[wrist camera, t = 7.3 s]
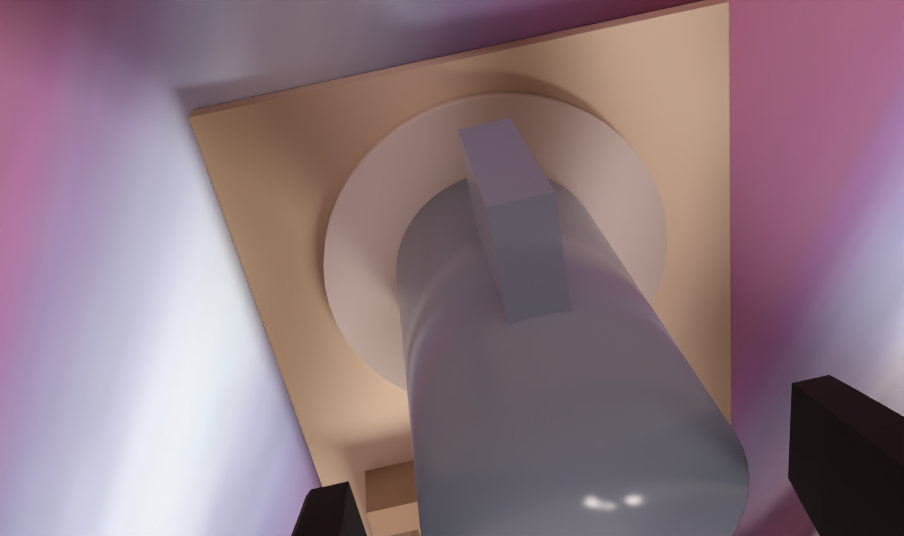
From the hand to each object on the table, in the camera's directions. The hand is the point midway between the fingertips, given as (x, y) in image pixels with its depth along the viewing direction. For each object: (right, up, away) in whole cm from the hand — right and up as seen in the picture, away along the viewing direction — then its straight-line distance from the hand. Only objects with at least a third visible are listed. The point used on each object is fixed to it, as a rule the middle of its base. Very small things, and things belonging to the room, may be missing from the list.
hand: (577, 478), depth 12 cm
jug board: (0, -1, +10) cm, 10 cm away
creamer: (-1, +4, +6) cm, 7 cm away
